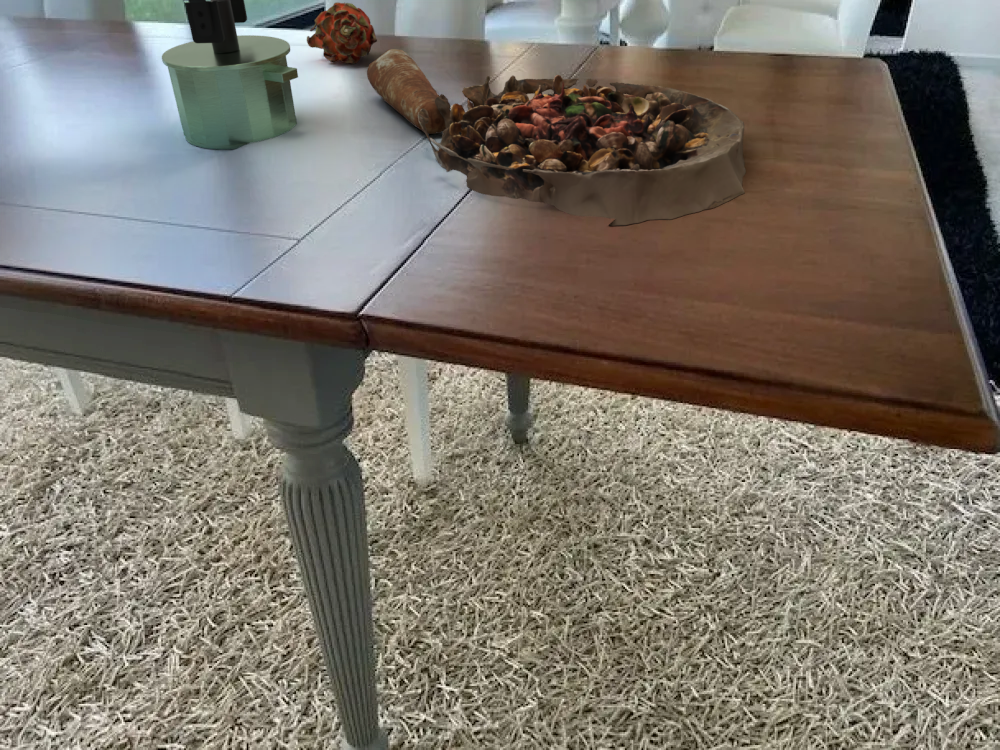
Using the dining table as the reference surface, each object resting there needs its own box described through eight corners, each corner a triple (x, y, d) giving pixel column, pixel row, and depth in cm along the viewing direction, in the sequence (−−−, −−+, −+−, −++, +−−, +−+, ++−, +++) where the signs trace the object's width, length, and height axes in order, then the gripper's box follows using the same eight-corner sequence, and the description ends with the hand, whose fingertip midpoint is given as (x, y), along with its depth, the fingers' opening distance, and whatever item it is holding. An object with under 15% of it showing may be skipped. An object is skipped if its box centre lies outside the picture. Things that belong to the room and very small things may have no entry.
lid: (228, 83, 87) (215, 18, 83) (136, 68, 93) (120, 6, 89) (316, 52, 96) (308, -8, 93) (228, 40, 102) (217, -17, 99)
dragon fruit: (366, 82, 120) (327, 77, 129) (401, 35, 121) (360, 34, 130) (323, 36, 114) (286, 34, 123) (361, -12, 115) (321, -10, 124)
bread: (415, 90, 110) (412, 45, 107) (458, 136, 95) (456, 85, 92) (367, 96, 109) (363, 50, 106) (403, 143, 94) (399, 92, 91)
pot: (261, 160, 91) (245, 79, 86) (145, 135, 98) (125, 59, 94) (337, 125, 99) (326, 50, 95) (225, 105, 107) (210, 34, 102)
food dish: (387, 136, 99) (381, 66, 94) (640, 103, 108) (645, 39, 104) (494, 250, 71) (491, 158, 67) (821, 193, 80) (837, 109, 76)
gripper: (175, -159, 90) (210, 15, 100) (112, -149, 76) (161, 53, 86) (245, -161, 90) (274, 14, 100) (196, -152, 76) (235, 51, 85)
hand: (221, 31), depth 93 cm, fingers open, 8 cm apart
